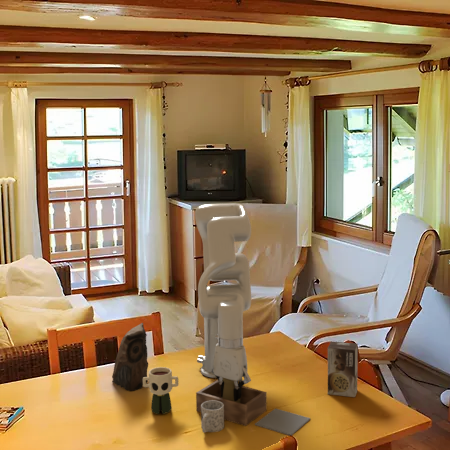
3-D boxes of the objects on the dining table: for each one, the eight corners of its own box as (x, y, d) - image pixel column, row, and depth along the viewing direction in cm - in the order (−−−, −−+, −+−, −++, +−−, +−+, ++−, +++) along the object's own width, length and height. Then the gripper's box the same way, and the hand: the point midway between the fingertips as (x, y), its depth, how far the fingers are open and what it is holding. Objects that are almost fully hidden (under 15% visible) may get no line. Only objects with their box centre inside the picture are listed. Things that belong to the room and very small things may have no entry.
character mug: (142, 416, 194) (141, 376, 192) (145, 406, 201) (143, 367, 199) (178, 416, 194) (177, 375, 192) (179, 405, 201) (178, 366, 199)
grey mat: (255, 425, 188) (255, 423, 188) (275, 409, 198) (275, 408, 197) (291, 435, 181) (291, 434, 181) (310, 419, 191) (310, 418, 191)
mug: (207, 419, 191) (206, 399, 190) (227, 423, 189) (227, 402, 188) (192, 435, 182) (192, 413, 181) (214, 439, 180) (213, 417, 179)
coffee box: (357, 389, 211) (358, 343, 208) (355, 398, 205) (356, 350, 202) (330, 386, 214) (330, 340, 211) (326, 394, 208) (327, 347, 205)
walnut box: (196, 410, 197) (196, 392, 196) (218, 396, 207) (218, 379, 206) (245, 425, 187) (245, 406, 186) (266, 410, 197) (266, 392, 196)
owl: (146, 374, 226) (144, 319, 223) (158, 387, 215) (156, 330, 212) (111, 381, 221) (108, 325, 217) (122, 394, 210) (119, 336, 206)
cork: (239, 410, 194) (238, 376, 192) (219, 409, 195) (219, 375, 193) (242, 401, 200) (242, 368, 198) (223, 400, 201) (223, 367, 199)
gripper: (201, 339, 195) (202, 395, 199) (247, 350, 186) (247, 409, 189) (215, 332, 201) (215, 386, 205) (260, 342, 192) (260, 399, 196)
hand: (231, 396), depth 197 cm, fingers closed on cork, 4 cm apart
